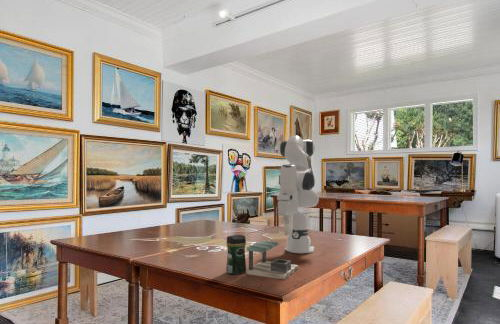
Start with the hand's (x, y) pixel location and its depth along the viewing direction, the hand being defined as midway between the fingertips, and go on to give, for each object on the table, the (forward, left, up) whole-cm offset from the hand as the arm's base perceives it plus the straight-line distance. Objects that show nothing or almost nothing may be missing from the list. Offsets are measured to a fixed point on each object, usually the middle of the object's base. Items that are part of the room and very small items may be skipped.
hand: (288, 223), depth 172 cm
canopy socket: (+2, -7, -25) cm, 26 cm away
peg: (0, 0, -6) cm, 6 cm away
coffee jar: (+12, -23, -25) cm, 36 cm away
